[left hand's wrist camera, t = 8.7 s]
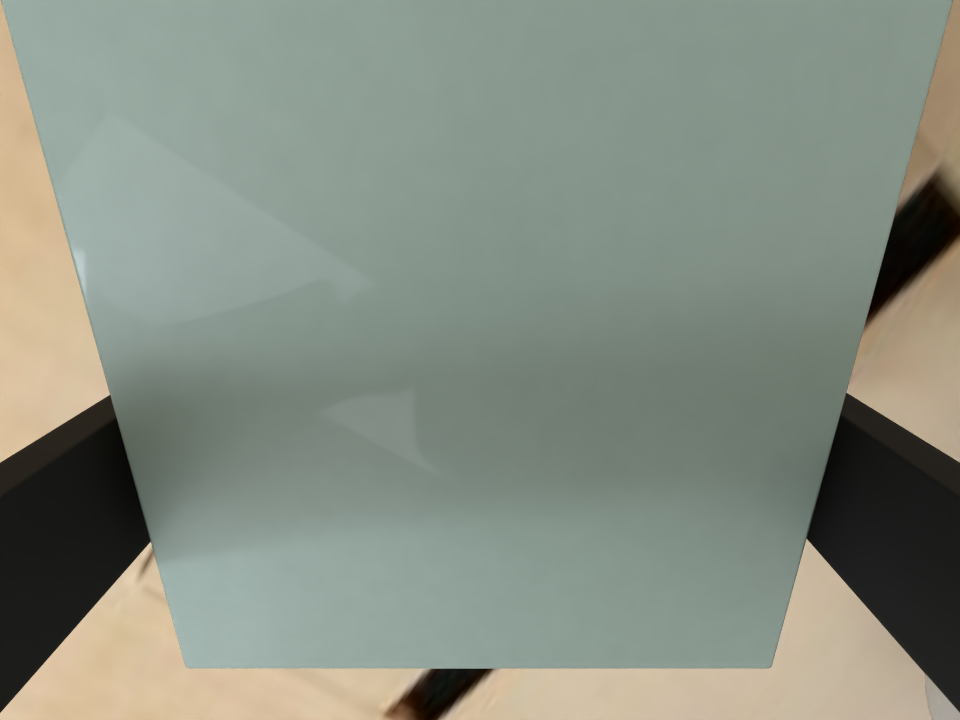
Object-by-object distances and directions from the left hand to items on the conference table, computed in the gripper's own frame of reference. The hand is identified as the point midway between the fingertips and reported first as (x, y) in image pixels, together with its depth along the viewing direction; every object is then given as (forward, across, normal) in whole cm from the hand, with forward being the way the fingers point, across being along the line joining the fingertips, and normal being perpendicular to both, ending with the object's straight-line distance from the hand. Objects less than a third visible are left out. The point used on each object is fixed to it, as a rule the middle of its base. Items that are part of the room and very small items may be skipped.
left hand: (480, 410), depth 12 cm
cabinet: (+7, 0, -6) cm, 9 cm away
